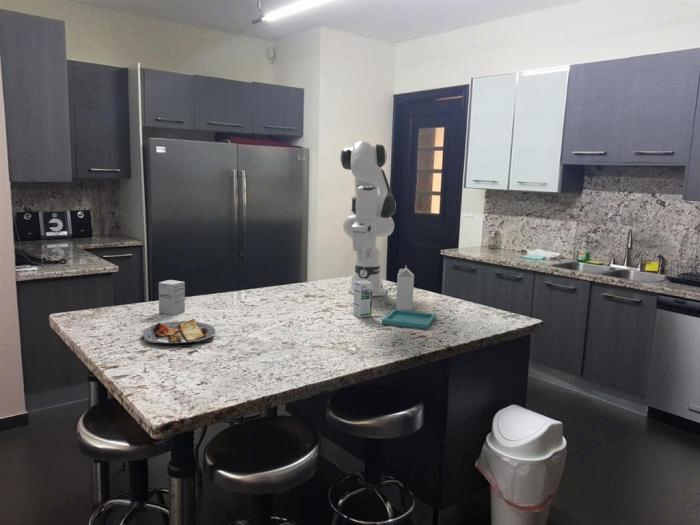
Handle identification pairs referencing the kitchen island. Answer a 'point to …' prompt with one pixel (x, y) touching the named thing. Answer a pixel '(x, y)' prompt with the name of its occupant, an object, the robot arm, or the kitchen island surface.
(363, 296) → the syrup box
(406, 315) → the tray
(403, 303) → the milk carton
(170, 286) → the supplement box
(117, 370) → the kitchen island surface
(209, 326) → the food plate
